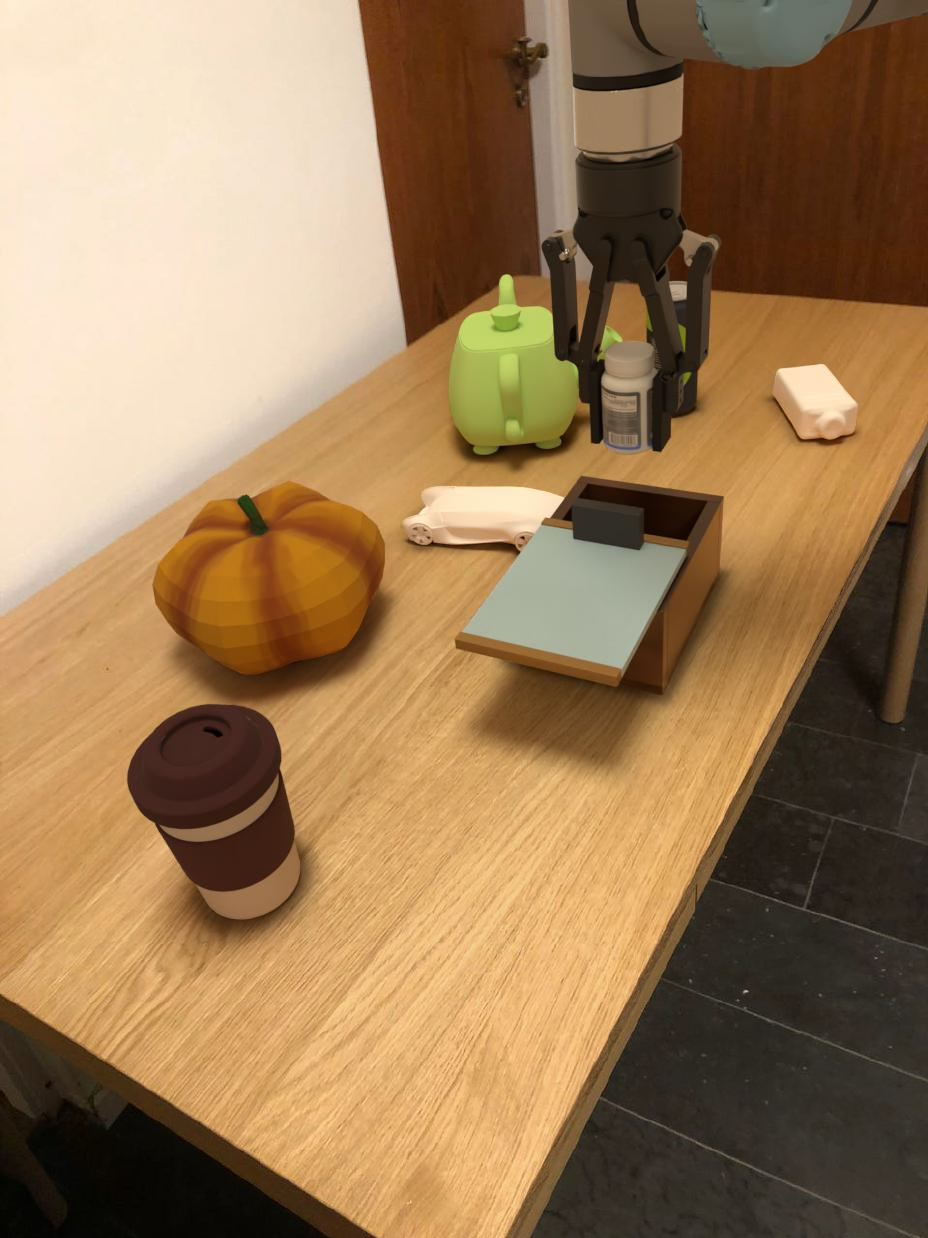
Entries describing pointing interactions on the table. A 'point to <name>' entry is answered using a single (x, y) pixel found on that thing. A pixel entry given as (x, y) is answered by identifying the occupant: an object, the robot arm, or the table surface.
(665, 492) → the case
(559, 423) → the teapot
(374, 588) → the decorative pumpkin
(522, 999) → the table surface
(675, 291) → the beverage can
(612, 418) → the pill bottle
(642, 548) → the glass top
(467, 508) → the toy car
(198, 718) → the coffee cup
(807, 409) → the white bottle
